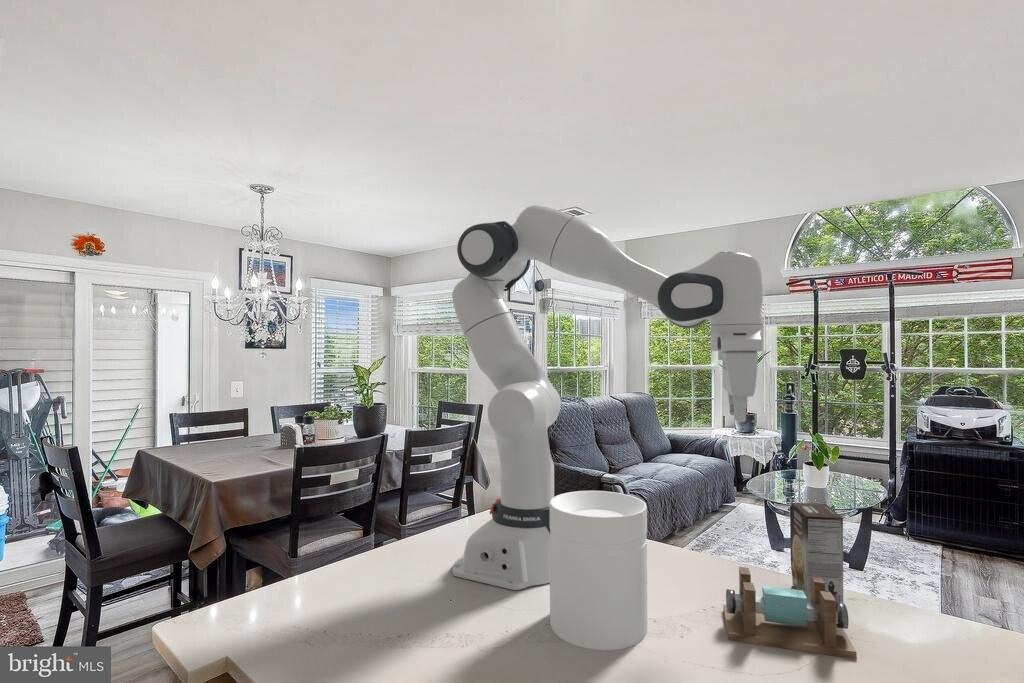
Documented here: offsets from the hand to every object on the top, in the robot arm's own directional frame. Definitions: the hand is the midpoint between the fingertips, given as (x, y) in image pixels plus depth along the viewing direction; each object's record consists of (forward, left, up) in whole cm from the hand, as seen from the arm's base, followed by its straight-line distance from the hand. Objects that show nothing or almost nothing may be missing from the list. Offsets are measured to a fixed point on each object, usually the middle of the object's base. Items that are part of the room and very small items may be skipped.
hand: (737, 418), depth 98 cm
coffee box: (+14, +7, -33) cm, 37 cm away
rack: (+6, -9, -33) cm, 35 cm away
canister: (-23, -15, -33) cm, 43 cm away
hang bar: (+6, -9, -31) cm, 33 cm away
